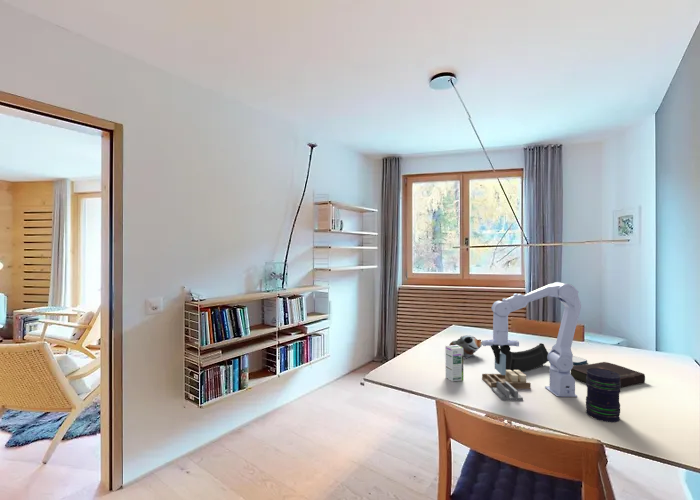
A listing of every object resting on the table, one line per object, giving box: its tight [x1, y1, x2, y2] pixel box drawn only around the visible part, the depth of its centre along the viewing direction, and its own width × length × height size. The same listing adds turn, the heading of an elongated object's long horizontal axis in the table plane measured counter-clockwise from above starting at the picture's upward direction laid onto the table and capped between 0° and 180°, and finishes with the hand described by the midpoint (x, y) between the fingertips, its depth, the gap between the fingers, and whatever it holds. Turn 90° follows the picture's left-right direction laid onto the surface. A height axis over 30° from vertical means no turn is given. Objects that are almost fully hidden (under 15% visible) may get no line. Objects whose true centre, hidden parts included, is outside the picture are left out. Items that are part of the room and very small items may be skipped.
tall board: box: [494, 351, 506, 375], centre depth 151 cm, size 8×1×8 cm, turn 179°
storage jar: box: [585, 368, 622, 423], centre depth 127 cm, size 10×10×15 cm
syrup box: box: [444, 344, 464, 383], centre depth 161 cm, size 6×6×14 cm
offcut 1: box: [505, 370, 518, 382], centre depth 156 cm, size 7×2×4 cm, turn 0°
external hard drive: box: [546, 348, 588, 366], centre depth 193 cm, size 24×12×2 cm, turn 28°
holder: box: [491, 381, 524, 401], centre depth 144 cm, size 10×8×4 cm
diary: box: [570, 361, 646, 389], centre depth 162 cm, size 19×25×5 cm
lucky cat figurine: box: [448, 334, 483, 359], centre depth 196 cm, size 15×12×14 cm
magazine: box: [506, 343, 549, 373], centre depth 174 cm, size 17×3×30 cm
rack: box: [481, 373, 532, 390], centre depth 156 cm, size 11×16×2 cm
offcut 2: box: [513, 370, 527, 383], centre depth 156 cm, size 7×2×4 cm, turn 0°
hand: (500, 363), depth 151 cm, fingers closed on tall board, 1 cm apart
